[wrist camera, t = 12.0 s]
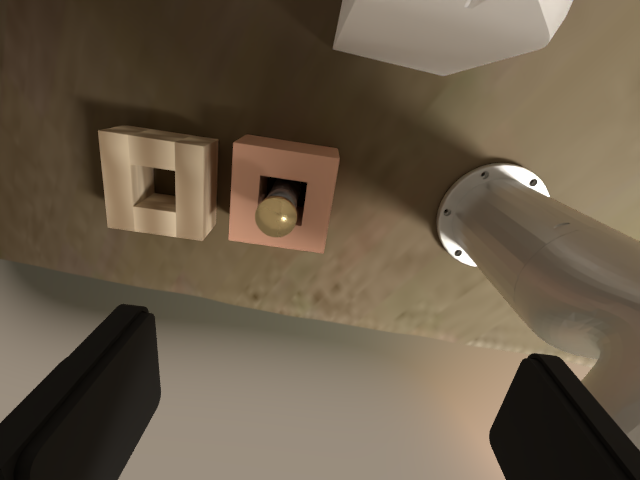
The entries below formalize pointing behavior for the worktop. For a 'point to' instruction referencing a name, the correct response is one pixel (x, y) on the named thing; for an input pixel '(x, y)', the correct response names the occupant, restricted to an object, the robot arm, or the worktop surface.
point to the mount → (138, 181)
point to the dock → (286, 163)
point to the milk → (446, 31)
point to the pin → (279, 208)
